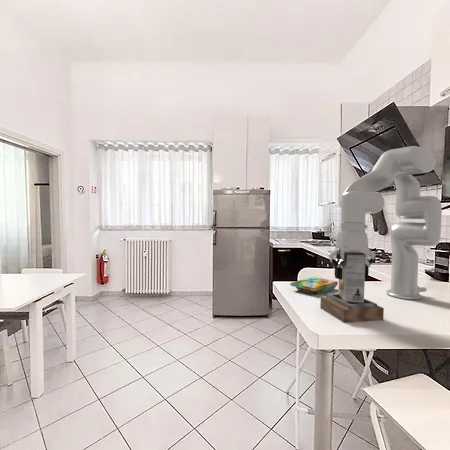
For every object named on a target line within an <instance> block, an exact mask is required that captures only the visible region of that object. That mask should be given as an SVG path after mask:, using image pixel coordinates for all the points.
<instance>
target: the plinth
mask: <svg viewBox="0 0 450 450" xmlns="http://www.w3.org/2000/svg"><path fill="white" fill-rule="evenodd" d="M319 306H320V309H321V310H323V311H324V312H326V313H328V314H329V315H331V316H332V317H333V318H335V319H338V320H339V321H340V322H343V323H360V322H361V323H362V322H363V323H364V322H375V321H376V322H377V321H378V322H379V321H380V322H381V321H384V310H385V308H384V307H383V306H380V305H378V303H376V302H373V301H372V300H368V299H366V298H364V303H359V302H345V301H344V300H343V299H342V298H341V297H340V295H339V294H338V293H326V296H321V297H320V305H319Z"/></svg>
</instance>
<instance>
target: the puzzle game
mask: <svg viewBox="0 0 450 450" xmlns="http://www.w3.org/2000/svg"><path fill="white" fill-rule="evenodd" d="M289 284H290V286H291V287H295V288H296V289H297V291H300V292H306V293H309V294H312V295H313V294H314V295H318V294H322V293H326V292H328V291H329V292H330V291H331V290H332V291H333V290H334V289H336V288H337V286H339V281H337V280H336V281H335V280H331V279H327V278H322V277H315V276H314V277H308V278H305V279H300V280H297V281H292V282H290V283H289Z"/></svg>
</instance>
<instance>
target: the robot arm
mask: <svg viewBox="0 0 450 450" xmlns="http://www.w3.org/2000/svg"><path fill="white" fill-rule="evenodd" d="M436 164H437V159H436V156H435V154H434V153H433V151H431V150H430V149H427V148H424V147H421V146H417V145H411V146H410V145H409V146H404V147H400V148H399V147H398V148H392V149H389V150H386V151H385V152H383V153H382V154H381V155H380V156H379V158H378V160H377V162H376V163H375V164H374V166H373V167H372V168H371V170H370V172H368V173H366V174H365V175H363V176H361V177H359V178H358V179H357V180H354V181H353V182H352V183H351V184H349V186H347V188H346V190H344V192H343V193H342V194H341V197H340V202H339V206H340V231H338V232H337V236H336V238H335V248H334V250H332V251H331V252H328V253H327V257H328V259H329V262H330V263H331V264H332V266H333V267H334V278H335V279H338V280H339V279H340V280H342V268H341V266H342V265H343V263H344V261H345V253H364V254H366V262H365V280H367V279H369V268H370V267H371V265H372V264H373V263H374V260H375V258H376V255H377V254H376V253H375V252H373V251H372V250H370V249H369V240H368V234H367V232H366V229H368V225H367V224H366V214H371V215H372V214H377V213H379V212H381V211H382V210H383V209H384V207H385V198H384V197H383V195H382V194H380V193H379V192H378V191H380V190H384V189H386V188H388V187H389V186H391V185H392V184H393V182H394V184H395V187H396V192H395V215H396V216H397V218H399V219H402V220H424V222H415V221H414V222H413V221H402V222H397V223H394V224H392V225H391V227H390V229H389V236H390V243H391V275H390V276H391V277H390V278H391V279H390V289H387V290H386V294H387V295H388V296H390V297H393V298H397V299H403V300H409V301H411V300H415V301H416V300H417V301H418V300H421V299H422V295H421V294H420V293H423V292H424V293H426V292H427V291H428V290H427V287H425V286H422V287H420V286H419V285H418V279H419V278H418V277H419V275H418V274H419V273H418V272H419V254H418V252H417V251H416V249H415V248H414V247H413V246H420V247H436V246H437V245H438V244H439V243H440V241H441V233H442V231H441V230H442V215H443V214H442V213H443V211H442V210H443V209H442V202H441V200H440V199H439V198H438V197H437V196H435V195H421V183H420V182H419V181H418V179H417V178H416V177H414V176H413V175H417V174H426V173H430V172H431V171H433V170H434V168H435V167H436Z"/></svg>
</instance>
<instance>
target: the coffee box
mask: <svg viewBox="0 0 450 450" xmlns="http://www.w3.org/2000/svg"><path fill="white" fill-rule="evenodd" d="M365 262H366V254H364V253H345V261H344V263H343V265H342V266H341V268H342V280H340V279H338V289H337V290H338V293H337V294H339V295H340V297H341V298H342V299H343V300H344V301H345V302H359V303H364V299H365V282H366V279H365Z"/></svg>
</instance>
